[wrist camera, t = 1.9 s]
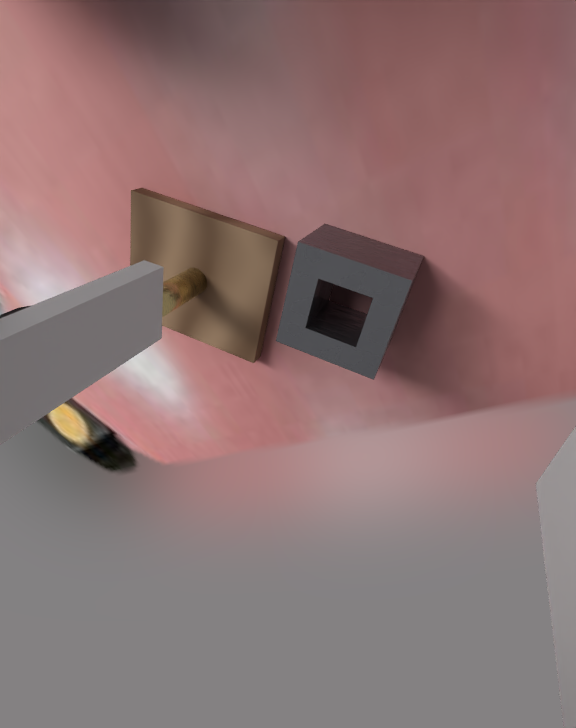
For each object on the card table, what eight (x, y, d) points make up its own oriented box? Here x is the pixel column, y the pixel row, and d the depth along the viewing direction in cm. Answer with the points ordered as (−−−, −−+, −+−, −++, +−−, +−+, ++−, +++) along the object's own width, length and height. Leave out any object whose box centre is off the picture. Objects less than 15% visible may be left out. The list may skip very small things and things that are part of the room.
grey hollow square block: (302, 312, 39) (275, 341, 35) (324, 223, 35) (298, 241, 30) (388, 345, 38) (373, 379, 33) (423, 256, 33) (412, 280, 28)
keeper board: (139, 306, 46) (129, 312, 45) (142, 187, 40) (131, 190, 38) (260, 356, 43) (253, 363, 42) (285, 236, 37) (278, 240, 35)
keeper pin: (182, 288, 41) (133, 316, 35) (184, 264, 40) (134, 289, 34) (205, 297, 41) (159, 327, 35) (208, 272, 39) (160, 299, 34)
